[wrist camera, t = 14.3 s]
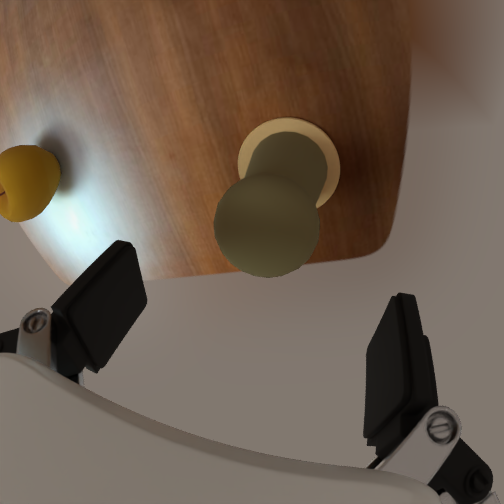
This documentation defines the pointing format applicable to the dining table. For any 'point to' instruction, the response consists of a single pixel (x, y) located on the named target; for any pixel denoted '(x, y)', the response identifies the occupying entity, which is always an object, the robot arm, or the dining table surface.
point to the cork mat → (304, 129)
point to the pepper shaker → (273, 207)
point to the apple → (27, 181)
